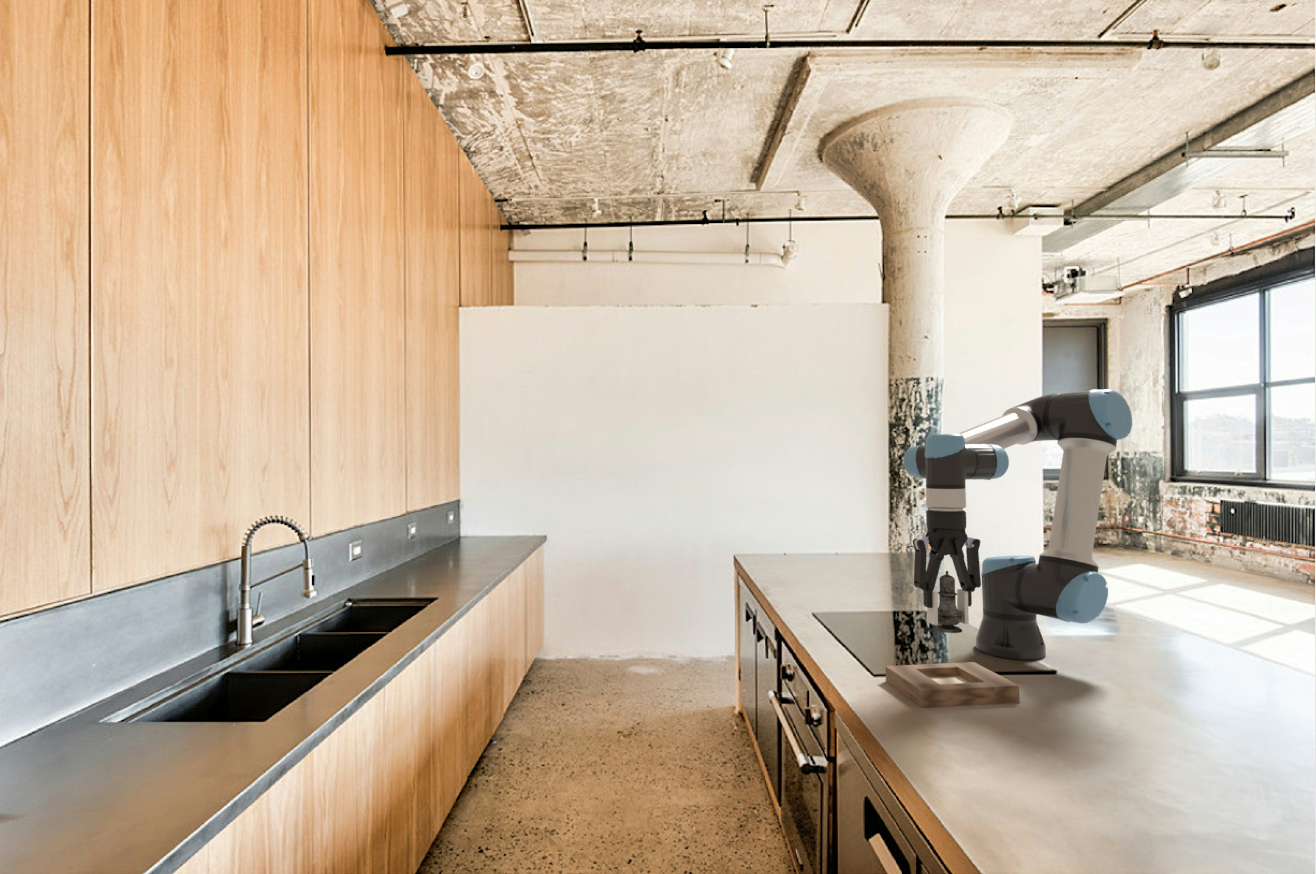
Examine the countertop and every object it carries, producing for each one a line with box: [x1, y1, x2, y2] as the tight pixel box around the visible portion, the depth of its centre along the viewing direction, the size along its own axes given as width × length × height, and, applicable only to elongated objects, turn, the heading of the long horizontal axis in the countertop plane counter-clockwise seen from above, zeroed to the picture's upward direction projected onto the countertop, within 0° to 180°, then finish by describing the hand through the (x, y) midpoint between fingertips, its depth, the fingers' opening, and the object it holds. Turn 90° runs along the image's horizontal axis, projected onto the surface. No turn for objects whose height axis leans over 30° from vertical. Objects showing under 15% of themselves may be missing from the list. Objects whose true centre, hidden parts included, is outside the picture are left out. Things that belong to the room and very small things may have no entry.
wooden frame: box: [885, 661, 1021, 708], centre depth 134 cm, size 20×15×3 cm
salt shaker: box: [933, 570, 964, 634], centre depth 135 cm, size 6×6×12 cm
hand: (947, 622), depth 135 cm, fingers closed on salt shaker, 6 cm apart
